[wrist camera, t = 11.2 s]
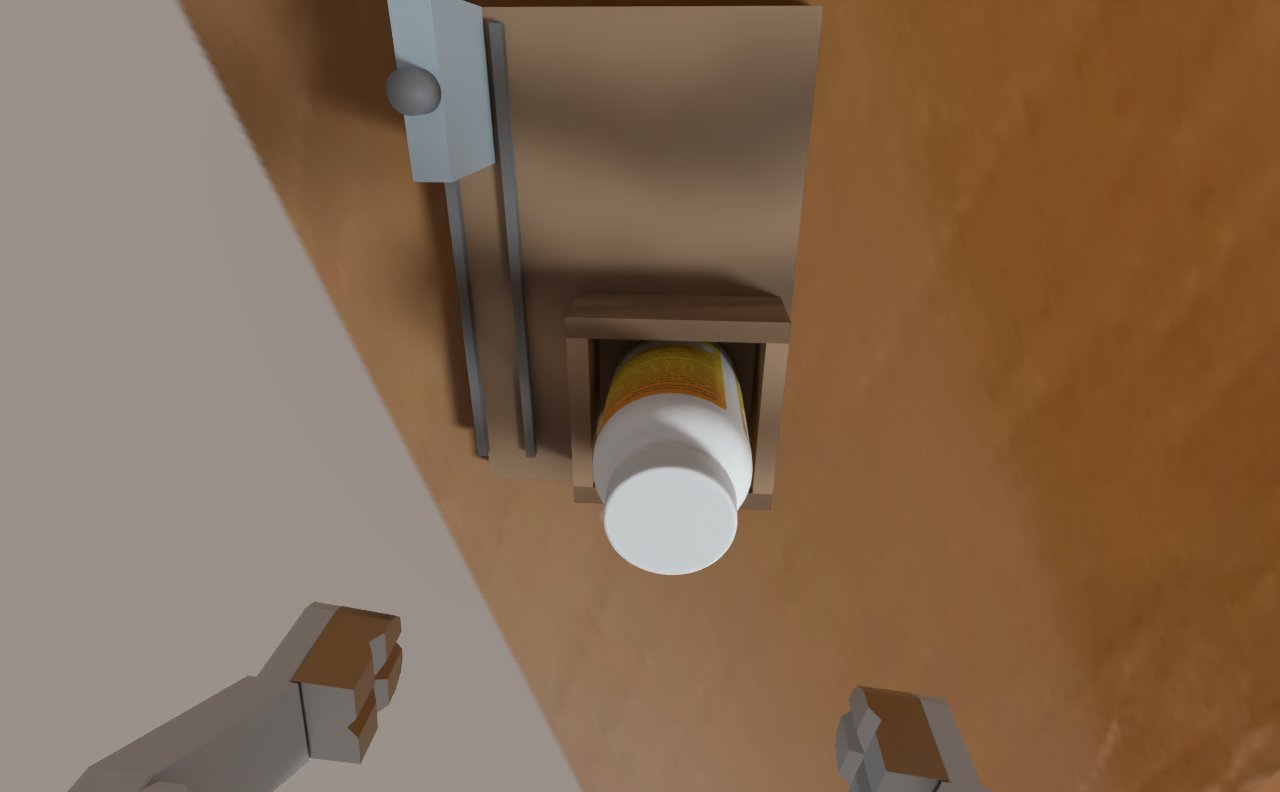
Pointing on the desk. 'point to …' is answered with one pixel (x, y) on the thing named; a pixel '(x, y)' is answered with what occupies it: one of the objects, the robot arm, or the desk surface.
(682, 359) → the supplement bottle
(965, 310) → the desk surface
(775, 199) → the board
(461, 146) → the cover panel
